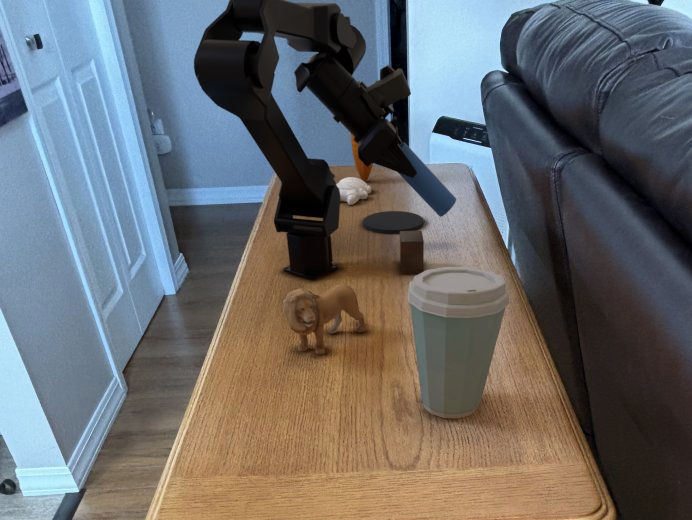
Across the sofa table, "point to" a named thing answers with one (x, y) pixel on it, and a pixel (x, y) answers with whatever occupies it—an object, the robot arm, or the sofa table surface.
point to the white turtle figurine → (353, 190)
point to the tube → (428, 185)
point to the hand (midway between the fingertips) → (414, 171)
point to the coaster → (393, 222)
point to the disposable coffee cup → (455, 335)
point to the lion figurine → (320, 313)
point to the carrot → (360, 162)
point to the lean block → (411, 252)
